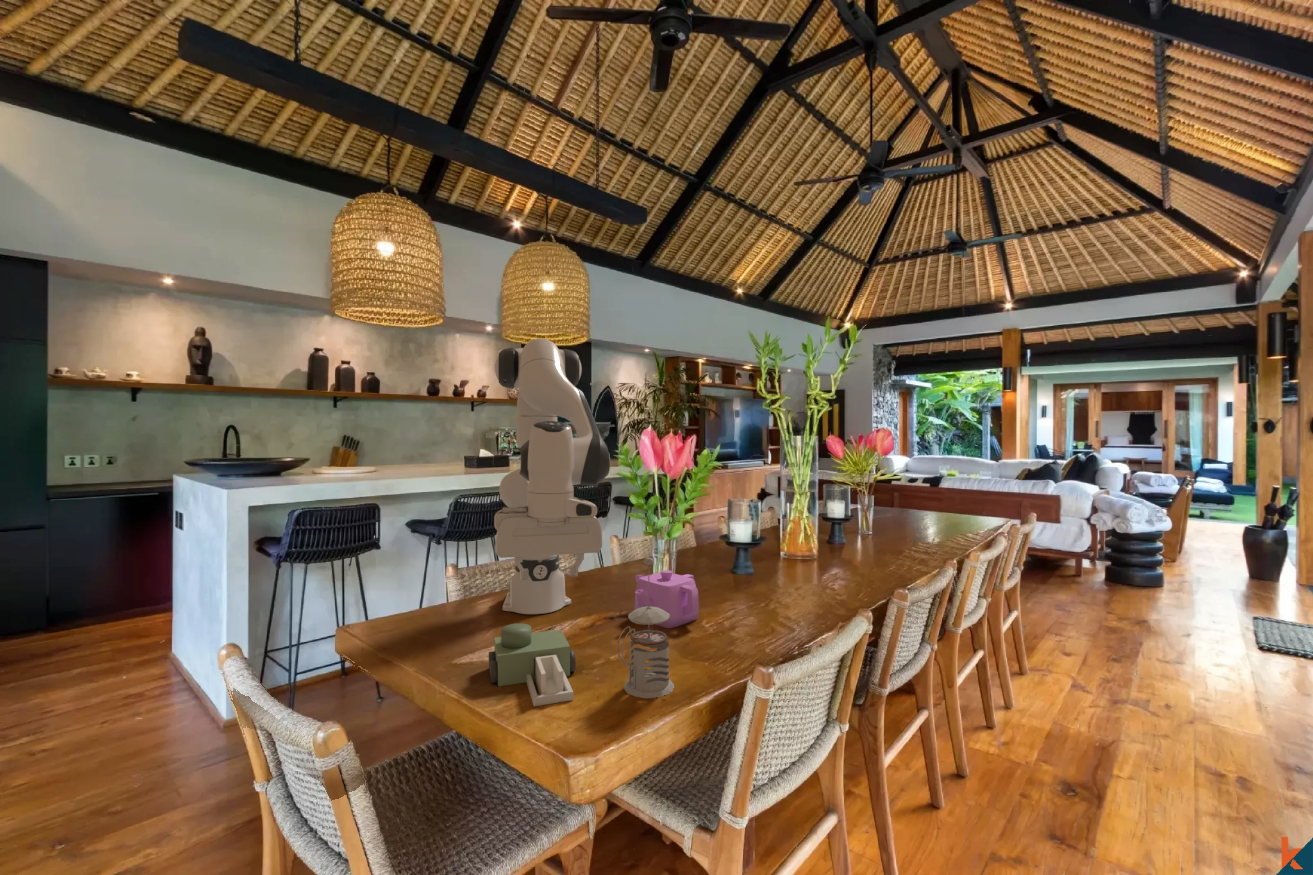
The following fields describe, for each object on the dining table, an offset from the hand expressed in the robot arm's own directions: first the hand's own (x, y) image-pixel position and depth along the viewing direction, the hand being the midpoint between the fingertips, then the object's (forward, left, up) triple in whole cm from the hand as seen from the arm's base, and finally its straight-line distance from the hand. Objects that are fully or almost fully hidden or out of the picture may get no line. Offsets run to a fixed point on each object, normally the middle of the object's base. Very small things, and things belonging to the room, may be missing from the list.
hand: (549, 577), depth 110 cm
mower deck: (-3, -2, -21) cm, 21 cm away
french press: (+7, +17, -21) cm, 28 cm away
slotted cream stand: (+2, 0, -21) cm, 21 cm away
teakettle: (-29, +35, -21) cm, 50 cm away
